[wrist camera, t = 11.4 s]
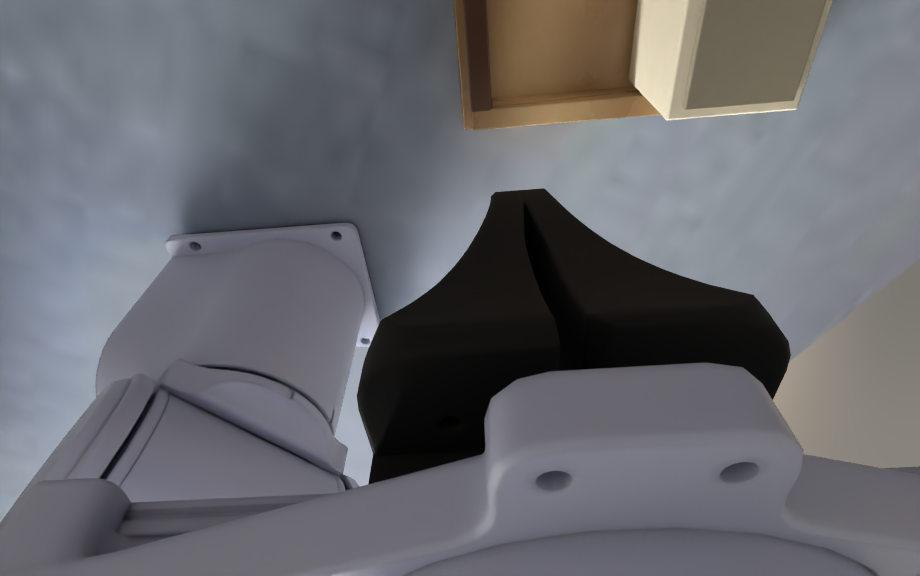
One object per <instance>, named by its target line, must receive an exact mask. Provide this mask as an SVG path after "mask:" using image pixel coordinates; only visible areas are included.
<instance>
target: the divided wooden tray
mask: <svg viewBox="0 0 920 576" xmlns="http://www.w3.org/2000/svg"><path fill="white" fill-rule="evenodd" d="M453 1H454V13H455V26H456V38H457V50H458V62H459V74H460V87H461V99H462V111H463V123H464V129H465V130H468V129H473V130H483V129H495V128H507V127H519V126H531V125H543V124H555V123H566V122H578V121H590V120H602V119H614V118H626V117H638V116H650V115H661V114H660V113H659V112H658V110H657V109H656V108H655V107H654V106H653V105H652V104H651V103H650V102H649V101H648V100H647V99H646V98H645V97H644V95H643V94H642V93H641V92H640V91H639V90H638V89H637V88H636V87H635V86H634V85H633V84H632V83H631V82H630V80H629V71H630V62H631V54H632V45H633V37H634V28H635V20H636V11H637V3H638V0H453Z"/></svg>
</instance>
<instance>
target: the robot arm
mask: <svg viewBox="0 0 920 576" xmlns="http://www.w3.org/2000/svg"><path fill="white" fill-rule="evenodd" d="M334 231H336V232H339V233H340V234H341V235H342V236H335V235H334V234H333V232H334ZM193 242H196V243H198V244H199V245H200V246H201V247H200V246H197V245H195V244H194V243H193ZM165 246H166V249H167V251H168V253H169V254H170V256H171V258H172V259H171V260H170V261H169V262H168V264H167V265H166V266H165V267H164V269H163V270H162V271H161V272H160V274H159V275H158V276H157V277H156V279H155V280H154V281H153V282H152V284H151V285H150V286H149V287H148V288H147V290H146V291H145V292H144V293H143V295H142V296H141V297H140V298H139V300H138V301H137V302H136V303H135V305H134V306H133V307H132V308H131V310H130V311H129V312H128V313H127V315H126V316H125V317H124V318H123V320H122V321H121V322H120V323H119V325H118V326H117V327H116V328H115V329H114V331H113V332H112V334H111V335H110V337H109V338H108V340H107V342H106V344H105V346H104V348H103V350H102V354H101V357H100V360H99V364H98V368H97V374H96V397H97V398H96V399H95V400H94V401H93V402H92V404H91V405H90V406H89V407H88V408H87V410H86V411H85V412H84V413H83V415H82V416H81V417H80V418H79V420H78V421H77V422H76V423H75V425H74V426H73V427H72V428H71V430H70V431H69V432H68V433H67V435H66V436H65V437H64V438H63V440H62V441H61V442H60V444H59V445H58V446H57V447H56V449H55V450H54V451H53V453H52V454H51V455H50V457H49V458H48V459H47V460H46V462H45V463H44V464H43V466H42V467H41V468H40V470H39V471H38V472H37V474H36V475H35V476H34V478H33V479H32V480H31V482H30V483H29V484H28V486H27V487H26V488H25V490H24V491H23V492H22V494H21V495H20V496H19V498H18V499H17V501H16V502H15V503H14V505H13V506H12V507H11V509H10V510H9V512H8V513H7V514H6V516H5V517H4V519H3V520H2V521H1V523H0V576H920V467H901V468H877V467H872V466H866V465H860V464H855V463H850V462H844V461H839V460H833V459H827V458H822V457H816V456H811V455H805V454H803V448H802V447H801V445H800V443H799V442H798V440H797V439H796V437H795V435H794V434H793V432H792V431H791V429H790V427H789V426H788V424H787V422H786V421H785V419H784V418H783V416H782V414H781V413H780V411H779V410H778V408H777V406H776V405H775V403H774V402H773V398H774V396H775V394H776V392H777V390H778V387H779V385H780V383H781V381H782V379H783V377H784V374H785V373H786V370H787V367H788V363H789V360H790V356H791V355H790V348H789V342H788V340H787V339H786V337H785V336H784V334H783V333H782V332H781V330H780V329H779V327H778V326H777V324H776V323H775V322H774V320H773V319H772V317H771V316H770V314H769V313H768V312H767V311H766V309H765V308H764V307H763V306H762V304H761V303H760V302H759V301H758V300H757V299H756V298H755V297H754V295H751V294H747V293H742V292H738V291H734V290H730V289H725V288H721V287H717V286H713V285H709V284H705V283H702V282H698V281H695V280H692V279H689V278H686V277H683V276H680V275H677V274H674V273H672V272H669V271H666V270H664V269H661V268H659V267H656V266H654V265H652V264H650V263H647V262H645V261H643V260H641V259H639V258H636V257H634V256H632V255H630V254H629V253H627V252H625V251H623V250H622V249H620V248H618V247H616V246H614V245H613V244H611V243H609V242H608V241H606V240H605V239H603V238H602V237H600V236H599V235H598V234H596V233H595V232H593V231H592V230H591V229H589V228H588V227H587V226H585V225H584V224H583V223H581V222H580V221H579V220H578V219H577V218H575V217H574V216H573V215H572V214H571V213H570V212H568V211H567V210H566V209H565V208H564V207H563V206H562V205H561V204H560V203H559V202H558V201H557V200H556V199H555V198H554V197H553V196H552V195H550V194H549V193H548V192H547V191H546V190H545V189H531V190H518V191H505V192H495V193H494V194H493V195H492V196H491V202H490V206H489V209H488V212H487V214H486V217H485V219H484V221H483V223H482V225H481V227H480V229H479V231H478V233H477V235H476V236H475V238H474V240H473V241H472V243H471V245H470V246H469V248H468V249H467V251H466V252H465V253H464V255H463V256H462V258H461V259H460V260H459V261H458V263H457V264H456V265H455V266H454V267H453V268H452V270H451V271H450V272H449V273H448V274H447V275H446V276H445V277H444V278H443V279H442V280H441V281H440V282H439V283H438V284H437V285H435V286H434V287H433V288H432V289H430V290H429V291H428V292H427V293H425V294H424V295H422V296H421V297H420V298H418V299H417V300H415V301H414V302H412V303H411V304H409V305H407V306H405V307H404V308H402V309H400V310H398V311H397V312H395V313H393V314H391V315H390V316H388V317H386V318H384V319H382V320H381V321H380V318H379V314H378V310H377V306H376V302H375V298H374V294H373V290H372V286H371V282H370V278H369V274H368V270H367V266H366V262H365V258H364V254H363V250H362V246H361V242H360V238H359V234H358V230H357V228H356V227H355V226H354V225H353V224H350V223H334V224H321V225H308V226H294V227H281V228H268V229H254V230H241V231H228V232H214V233H201V234H188V235H174V236H171V237H170V238H169V239H168V240H167V241H166V243H165ZM364 337H366V338H369V339H364ZM367 346H370V347H369V349H368V352H367V355H366V358H365V361H364V364H363V368H362V373H361V378H360V383H359V388H358V393H357V400H358V408H359V412H360V415H361V418H362V421H363V424H364V427H365V430H366V433H367V436H368V439H369V442H370V445H371V448H372V451H373V459H372V466H371V472H370V478H369V485H365V486H361V487H360V486H359V485H358V484H357V482H356V481H355V480H354V479H352V478H350V477H348V476H345V475H343V471H344V466H345V461H346V456H347V451H348V447H346V446H345V445H343V444H342V443H340V442H339V441H338V440H337V439H336V438H335V437H334V436H335V432H336V428H337V423H338V419H339V415H340V411H341V406H342V402H343V398H344V394H345V389H346V385H347V381H348V377H349V372H350V368H351V364H352V360H353V355H354V351H355V347H367Z"/></svg>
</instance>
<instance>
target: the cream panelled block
mask: <svg viewBox="0 0 920 576" xmlns="http://www.w3.org/2000/svg"><path fill="white" fill-rule="evenodd" d="M832 2H833V0H638V3H637V11H636V20H635V28H634V37H633V45H632V54H631V62H630V71H629V80H630V82H631V83H632V84H633V85H634V86H635V87H636V88H637V89H638V90H639V91H640V92H641V93H642V94H643V95H644V97H645V98H646V99H647V100H648V101H649V102H650V103H651V104H652V105H653V106H654V107H655V108H656V109H657V110H658V112H659V113H660V114H661V115H662V116H663V117H664V118H665V119H666V120H676V119H688V118H700V117H712V116H724V115H736V114H748V113H760V112H772V111H784V110H795V109H797V108H798V105H799V102H800V99H801V96H802V93H803V90H804V87H805V84H806V81H807V78H808V75H809V72H810V69H811V66H812V63H813V60H814V57H815V54H816V51H817V48H818V44H819V41H820V38H821V35H822V32H823V29H824V26H825V23H826V20H827V17H828V14H829V11H830V8H831V5H832Z"/></svg>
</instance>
